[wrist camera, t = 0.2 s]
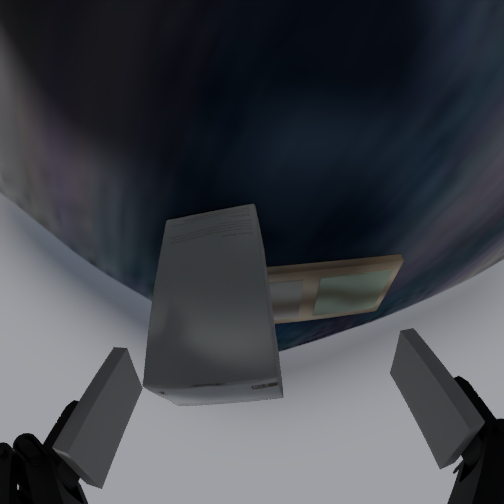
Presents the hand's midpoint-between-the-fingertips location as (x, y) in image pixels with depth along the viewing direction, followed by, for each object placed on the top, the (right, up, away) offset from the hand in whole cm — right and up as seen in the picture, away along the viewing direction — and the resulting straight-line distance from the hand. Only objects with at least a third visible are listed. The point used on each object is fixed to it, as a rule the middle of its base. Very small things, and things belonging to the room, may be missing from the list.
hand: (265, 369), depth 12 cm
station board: (+6, 0, +22) cm, 23 cm away
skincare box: (-4, +7, +14) cm, 16 cm away
